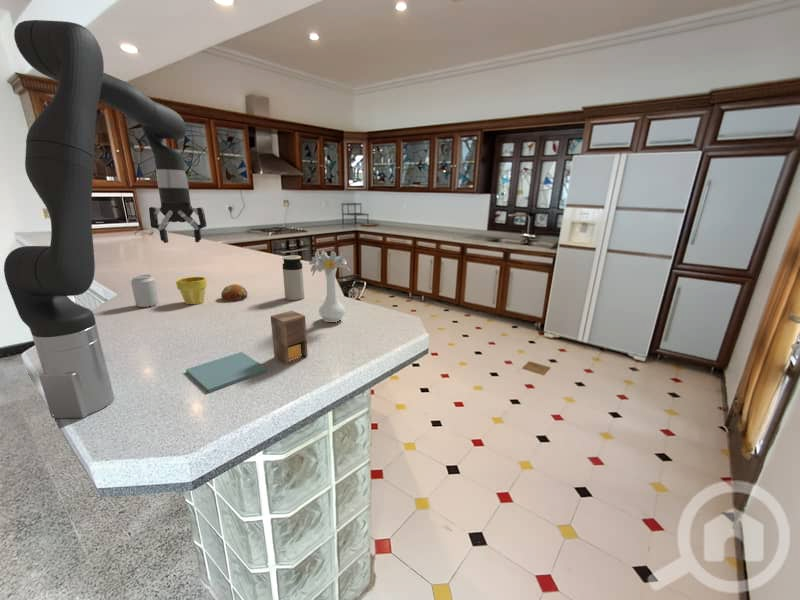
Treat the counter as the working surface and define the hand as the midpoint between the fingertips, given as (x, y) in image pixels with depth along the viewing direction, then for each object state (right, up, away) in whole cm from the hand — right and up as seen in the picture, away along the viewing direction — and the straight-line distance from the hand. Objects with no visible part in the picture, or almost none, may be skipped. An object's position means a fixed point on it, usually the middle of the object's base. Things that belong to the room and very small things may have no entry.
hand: (182, 242), depth 107 cm
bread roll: (-4, -17, +43) cm, 46 cm away
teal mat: (+23, -36, -19) cm, 47 cm away
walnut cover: (+37, -33, -11) cm, 51 cm away
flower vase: (+42, -25, +19) cm, 52 cm away
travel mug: (+21, -17, +44) cm, 52 cm away
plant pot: (-17, -19, +36) cm, 44 cm away
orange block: (+37, -33, -11) cm, 51 cm away
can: (-33, -20, +31) cm, 50 cm away
